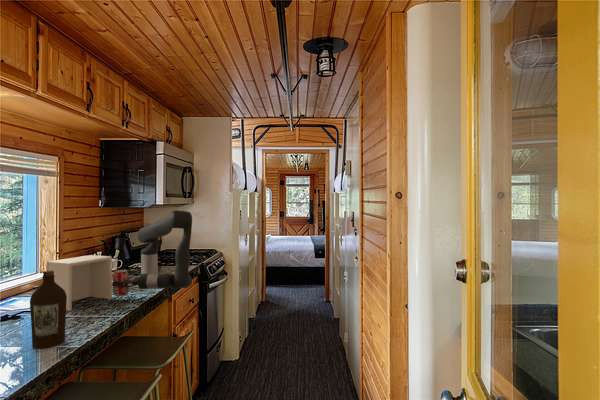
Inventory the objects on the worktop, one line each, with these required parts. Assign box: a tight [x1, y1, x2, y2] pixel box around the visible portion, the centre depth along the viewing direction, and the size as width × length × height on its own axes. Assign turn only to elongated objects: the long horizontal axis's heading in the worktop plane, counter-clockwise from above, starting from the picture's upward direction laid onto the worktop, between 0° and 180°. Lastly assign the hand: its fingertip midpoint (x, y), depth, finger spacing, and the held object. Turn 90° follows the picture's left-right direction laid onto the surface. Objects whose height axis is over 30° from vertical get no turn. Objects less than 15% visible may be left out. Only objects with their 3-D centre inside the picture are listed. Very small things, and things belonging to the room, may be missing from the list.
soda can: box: [112, 269, 130, 297], centre depth 184 cm, size 7×7×12 cm
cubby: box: [46, 254, 113, 312], centre depth 180 cm, size 15×22×21 cm
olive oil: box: [29, 270, 67, 349], centre depth 129 cm, size 11×11×25 cm
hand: (116, 281), depth 184 cm, fingers closed on soda can, 7 cm apart
